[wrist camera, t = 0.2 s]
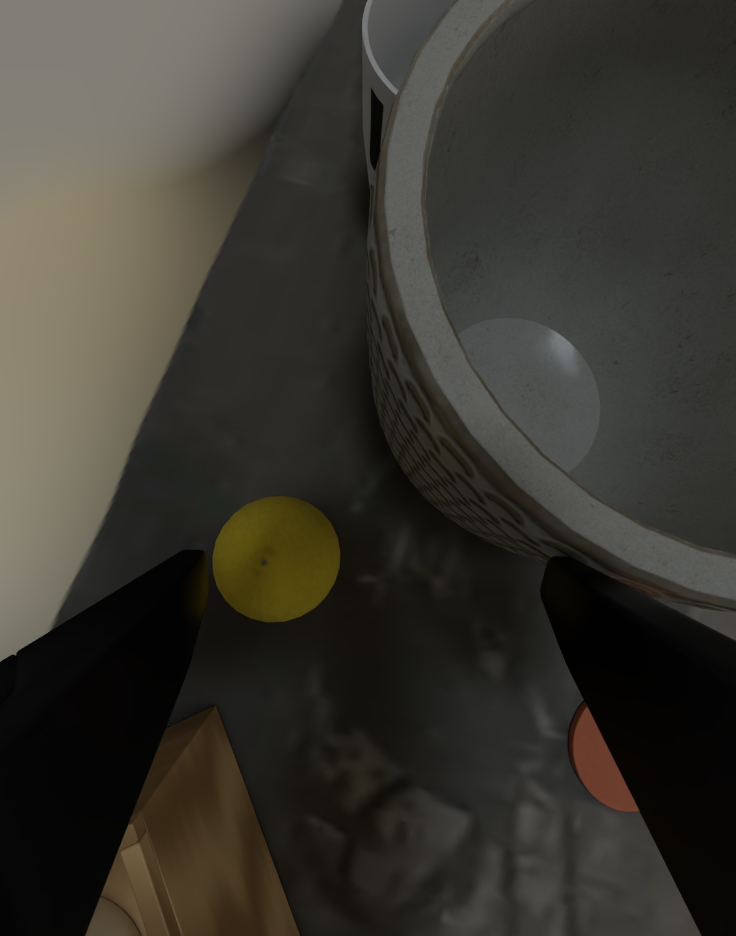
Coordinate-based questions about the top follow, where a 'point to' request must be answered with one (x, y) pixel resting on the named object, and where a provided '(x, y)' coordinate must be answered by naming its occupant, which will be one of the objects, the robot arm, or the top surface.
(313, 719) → the top surface
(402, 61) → the cup
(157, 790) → the pod rack
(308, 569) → the lemon
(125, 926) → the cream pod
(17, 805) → the robot arm
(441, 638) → the top surface
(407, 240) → the planter
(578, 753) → the coaster
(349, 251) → the top surface
